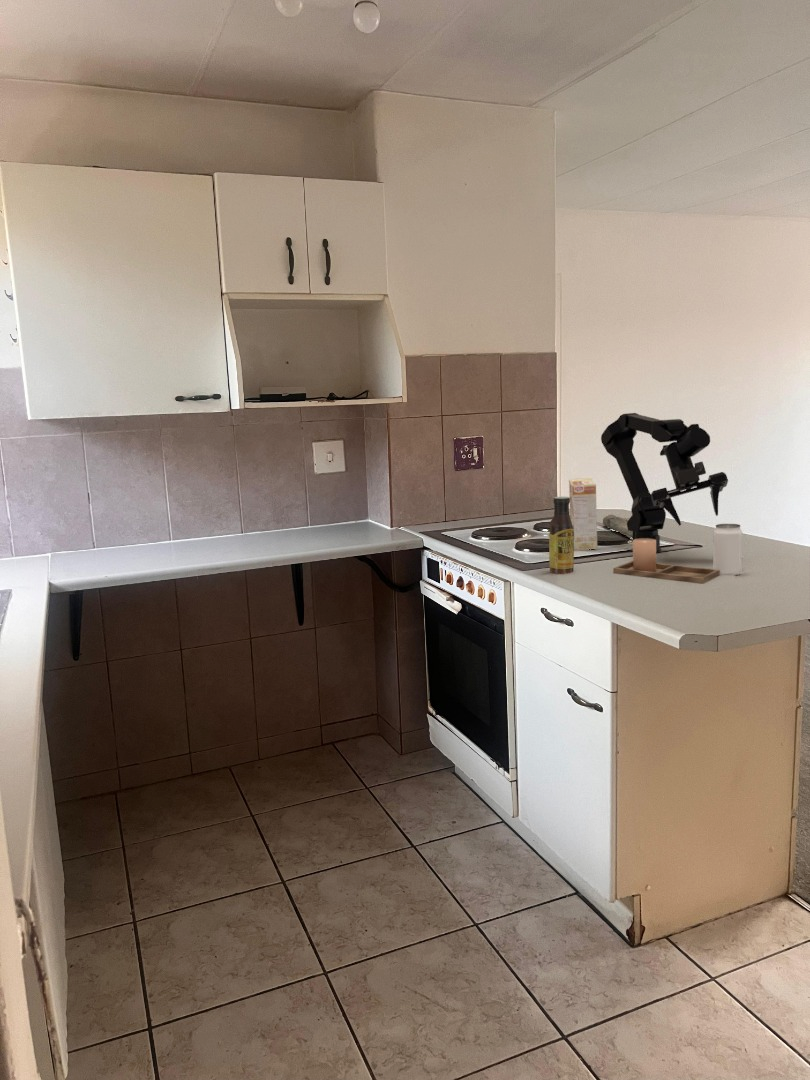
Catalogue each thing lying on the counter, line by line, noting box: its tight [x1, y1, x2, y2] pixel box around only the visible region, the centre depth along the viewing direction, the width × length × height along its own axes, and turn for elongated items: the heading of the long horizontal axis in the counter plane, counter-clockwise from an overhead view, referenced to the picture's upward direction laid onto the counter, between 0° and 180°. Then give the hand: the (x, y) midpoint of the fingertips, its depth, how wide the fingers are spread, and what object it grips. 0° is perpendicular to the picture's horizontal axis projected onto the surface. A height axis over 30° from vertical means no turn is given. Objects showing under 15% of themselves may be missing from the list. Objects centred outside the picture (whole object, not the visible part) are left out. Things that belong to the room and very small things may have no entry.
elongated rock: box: [602, 514, 633, 538], centre depth 258 cm, size 35×5×10 cm
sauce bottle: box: [548, 496, 575, 575], centre depth 208 cm, size 6×6×20 cm
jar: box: [632, 538, 657, 572], centre depth 203 cm, size 6×6×8 cm
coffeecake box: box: [568, 477, 598, 551], centre depth 242 cm, size 15×7×20 cm, turn 172°
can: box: [712, 523, 743, 577], centre depth 198 cm, size 6×6×12 cm
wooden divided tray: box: [612, 560, 721, 585], centre depth 200 cm, size 23×10×2 cm, turn 47°
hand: (698, 520), depth 206 cm, fingers open, 9 cm apart
